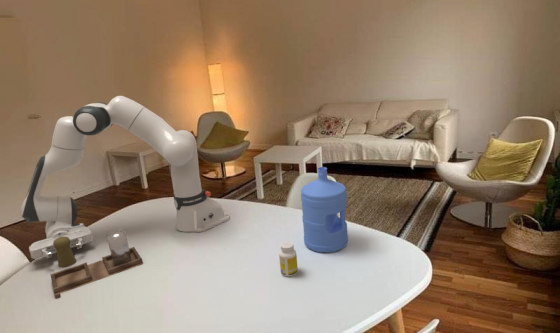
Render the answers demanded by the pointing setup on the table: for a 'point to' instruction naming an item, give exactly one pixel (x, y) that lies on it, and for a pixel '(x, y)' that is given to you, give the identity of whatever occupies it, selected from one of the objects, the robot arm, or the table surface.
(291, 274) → the supplement bottle
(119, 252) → the steel cylinder
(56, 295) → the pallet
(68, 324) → the table surface
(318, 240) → the water jug
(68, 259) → the cork
